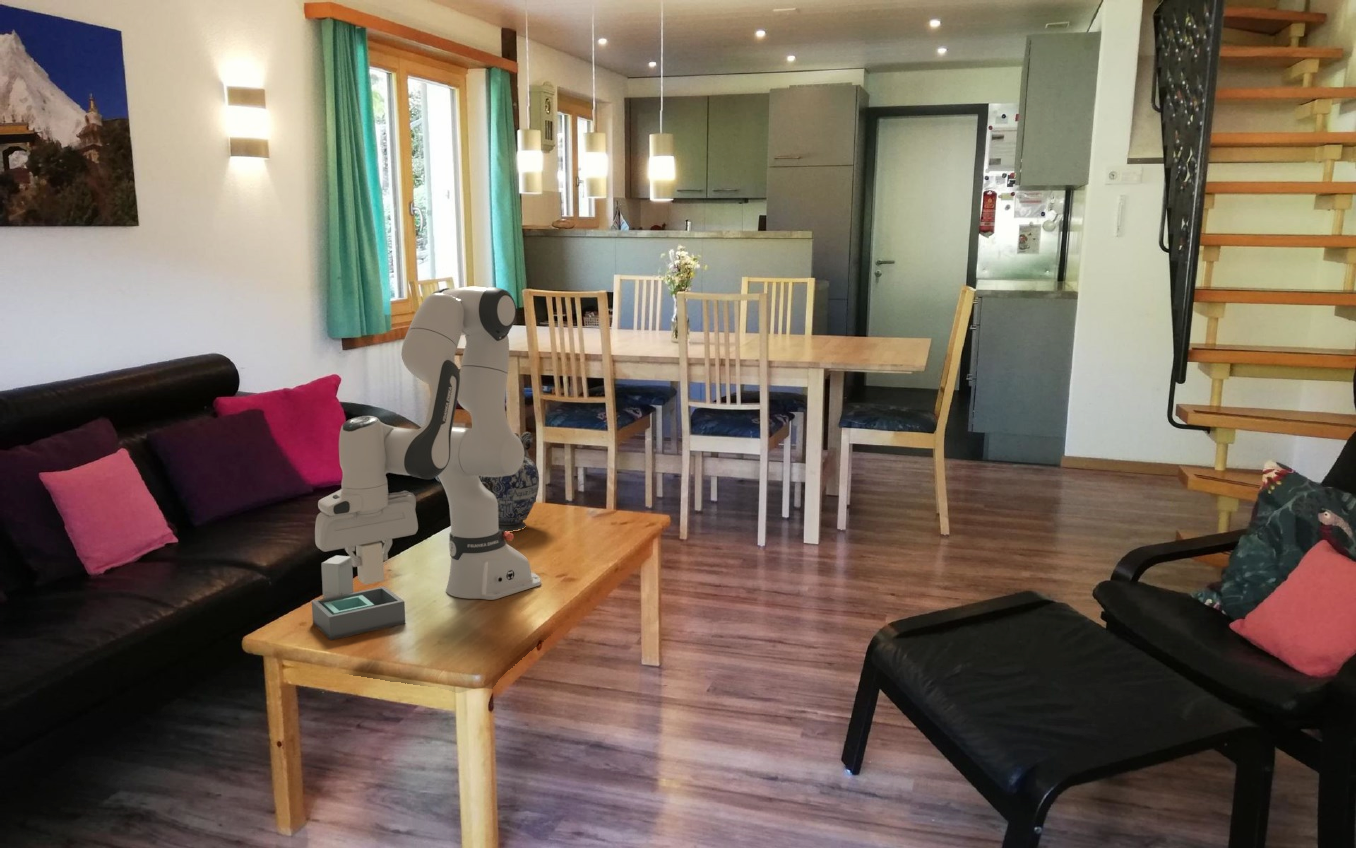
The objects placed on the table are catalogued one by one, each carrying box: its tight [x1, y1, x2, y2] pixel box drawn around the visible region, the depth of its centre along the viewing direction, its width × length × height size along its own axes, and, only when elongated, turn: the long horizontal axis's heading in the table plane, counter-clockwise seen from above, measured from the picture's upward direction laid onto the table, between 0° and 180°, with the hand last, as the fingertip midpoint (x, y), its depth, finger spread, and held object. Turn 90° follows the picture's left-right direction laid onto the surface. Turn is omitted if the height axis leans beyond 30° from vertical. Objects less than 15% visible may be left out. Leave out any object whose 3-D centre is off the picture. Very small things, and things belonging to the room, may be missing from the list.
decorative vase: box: [479, 431, 540, 531], centre depth 279 cm, size 21×19×28 cm
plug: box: [355, 541, 385, 586], centre depth 195 cm, size 4×4×9 cm
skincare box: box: [321, 554, 354, 599], centre depth 213 cm, size 6×4×12 cm
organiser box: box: [311, 585, 406, 641], centre depth 206 cm, size 16×12×5 cm
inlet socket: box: [323, 595, 374, 615], centre depth 205 cm, size 8×8×4 cm
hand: (370, 563), depth 195 cm, fingers closed on plug, 4 cm apart
